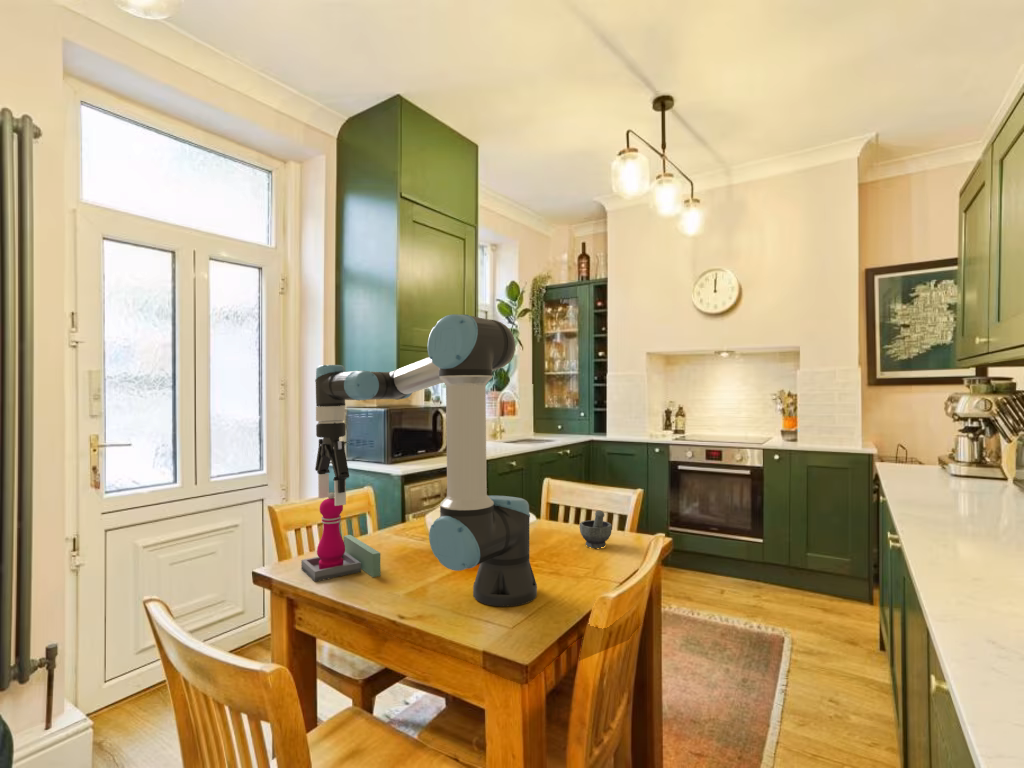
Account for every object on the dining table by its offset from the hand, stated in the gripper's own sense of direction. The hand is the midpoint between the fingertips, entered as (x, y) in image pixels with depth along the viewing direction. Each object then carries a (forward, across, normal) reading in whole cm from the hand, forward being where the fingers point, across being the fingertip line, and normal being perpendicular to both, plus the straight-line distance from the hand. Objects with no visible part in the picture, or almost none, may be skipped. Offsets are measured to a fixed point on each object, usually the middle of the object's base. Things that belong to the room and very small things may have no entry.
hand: (331, 501), depth 144 cm
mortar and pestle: (+20, -27, -72) cm, 80 cm away
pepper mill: (+18, 0, 0) cm, 18 cm away
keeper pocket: (+19, +1, 0) cm, 19 cm away
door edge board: (+19, 0, -8) cm, 20 cm away
